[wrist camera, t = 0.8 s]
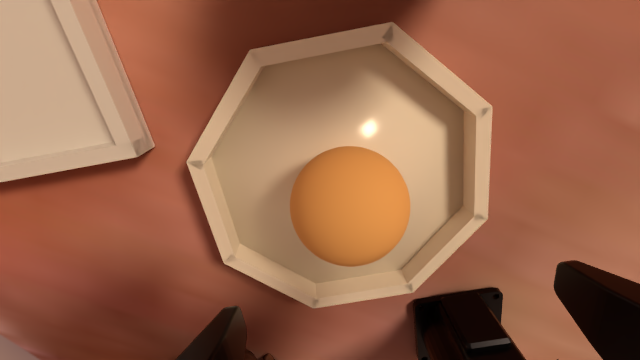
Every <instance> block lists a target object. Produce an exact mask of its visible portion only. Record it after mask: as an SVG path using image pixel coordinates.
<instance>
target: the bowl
mask: <svg viewBox="0 0 640 360" xmlns="http://www.w3.org/2000/svg"><path fill="white" fill-rule="evenodd" d="M491 129H492V106H491V105H490V104H489V103H488V102H487V101H485V100H484V99H483V98H482V97H481V96H480V95H478V94H477V93H476V92H475V91H474V90H472V89H471V88H470V87H469V86H468V85H467V84H465V83H464V82H463V81H462V80H461V79H460V78H458V77H457V76H456V75H455V74H454V73H452V72H451V71H450V70H449V69H448V68H447V67H445V66H444V65H443V64H442V63H441V62H439V61H438V60H437V59H436V58H435V57H434V56H432V55H431V54H430V53H429V52H428V51H426V50H425V49H424V48H423V47H422V46H421V45H419V44H418V43H417V42H416V41H415V40H413V39H412V38H411V37H410V36H409V35H408V34H406V33H405V32H404V31H403V30H402V29H401V28H399V27H398V26H397V25H396V24H395V23H393V22H389V23H384V24H379V25H373V26H368V27H363V28H358V29H353V30H348V31H343V32H338V33H332V34H327V35H322V36H317V37H312V38H307V39H302V40H297V41H291V42H286V43H281V44H276V45H271V46H266V47H261V48H256V49H251V50H249V52H248V54H247V55H246V57H245V59H244V61H243V62H242V64H241V66H240V68H239V70H238V71H237V73H236V75H235V77H234V78H233V80H232V82H231V84H230V86H229V87H228V89H227V91H226V93H225V94H224V96H223V98H222V100H221V102H220V103H219V105H218V107H217V109H216V110H215V112H214V114H213V116H212V117H211V119H210V121H209V123H208V125H207V126H206V128H205V130H204V132H203V133H202V135H201V137H200V139H199V141H198V142H197V144H196V146H195V148H194V149H193V151H192V153H191V155H190V157H189V158H188V160H187V162H186V163H187V165H188V168H189V171H190V173H191V176H192V179H193V181H194V184H195V187H196V190H197V192H198V195H199V198H200V200H201V203H202V206H203V209H204V211H205V214H206V217H207V219H208V222H209V225H210V228H211V230H212V233H213V236H214V238H215V241H216V244H217V246H218V249H219V252H220V255H221V257H222V260H223V263H224V264H226V265H228V266H230V267H232V268H234V269H236V270H238V271H240V272H242V273H244V274H246V275H248V276H250V277H252V278H254V279H256V280H258V281H260V282H262V283H264V284H266V285H268V286H270V287H272V288H274V289H276V290H278V291H280V292H282V293H284V294H286V295H288V296H290V297H292V298H294V299H296V300H298V301H299V302H301V303H303V304H305V305H307V306H309V307H311V308H320V307H326V306H332V305H339V304H345V303H351V302H357V301H364V300H370V299H376V298H382V297H389V296H395V295H401V294H407V293H413V292H414V291H415V290H416V289H417V288H418V287H419V286H420V285H421V284H422V283H423V282H424V281H425V280H426V279H427V278H428V277H429V276H430V275H431V274H432V273H433V272H434V271H435V270H437V269H438V268H439V267H440V266H441V265H442V264H443V263H444V262H445V261H446V260H447V259H448V258H449V257H450V256H451V255H452V254H453V253H454V252H455V251H456V250H457V249H458V248H459V247H460V246H461V245H462V244H463V243H464V242H465V241H466V240H467V239H468V238H469V237H470V236H471V235H472V234H473V233H474V232H475V231H476V230H477V229H478V228H479V227H480V226H481V225H482V224H483V223H484V222H485V221H486V220H487V219H488V200H489V177H490V153H491ZM343 146H357V147H363V148H366V149H370V150H372V151H374V152H377V153H379V154H380V155H382V156H384V157H385V158H386V159H388V160H389V161H390V162H391V163H392V164H393V165H394V166H395V167H396V168H397V169H398V171H399V172H400V174H401V175H402V177H403V179H404V181H405V183H406V185H407V188H408V192H409V197H410V217H409V222H408V225H407V228H406V231H405V233H404V235H403V237H402V238H401V240H400V241H399V243H398V244H397V245H396V246H395V247H394V249H392V250H391V251H390V252H389V253H388V254H387V255H385V256H384V257H382V258H381V259H379V260H377V261H375V262H373V263H370V264H367V265H362V266H355V267H346V266H339V265H335V264H332V263H329V262H326V261H324V260H322V259H320V258H319V257H317V256H316V255H314V254H313V253H312V252H311V251H310V250H308V249H307V248H306V246H305V245H304V244H303V243H302V242H301V240H300V239H299V237H298V235H297V233H296V231H295V229H294V226H293V223H292V220H291V215H290V197H291V192H292V188H293V185H294V183H295V180H296V178H297V176H298V175H299V173H300V172H301V170H302V169H303V168H304V167H305V165H306V164H307V163H308V162H310V161H311V160H312V159H313V158H314V157H316V156H317V155H319V154H321V153H323V152H325V151H327V150H330V149H333V148H337V147H343Z"/></svg>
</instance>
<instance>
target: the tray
mask: <svg viewBox="0 0 640 360" xmlns="http://www.w3.org/2000/svg"><path fill="white" fill-rule="evenodd" d="M154 147H155V145H154V142H153V140H152V137H151V135H150V132H149V130H148V127H147V125H146V122H145V120H144V117H143V115H142V112H141V110H140V107H139V105H138V102H137V100H136V97H135V95H134V92H133V90H132V87H131V85H130V82H129V80H128V77H127V75H126V73H125V70H124V68H123V65H122V63H121V60H120V58H119V55H118V53H117V50H116V48H115V45H114V43H113V40H112V38H111V35H110V33H109V30H108V28H107V25H106V23H105V20H104V18H103V15H102V13H101V10H100V8H99V5H98V3H97V1H96V0H0V182H5V181H10V180H16V179H21V178H26V177H32V176H37V175H43V174H48V173H54V172H59V171H64V170H70V169H75V168H81V167H86V166H92V165H97V164H103V163H108V162H113V161H119V160H124V159H130V158H135V157H138V156H140V155H142V154H143V153H145V152H147V151H148V150H150V149H152V148H154Z"/></svg>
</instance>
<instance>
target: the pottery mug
mask: <svg viewBox="0 0 640 360" xmlns="http://www.w3.org/2000/svg"><path fill="white" fill-rule="evenodd" d="M244 360H257V359H256V357H255V356H254V354H253V353H252V352H250V351H247V350H245V356H244ZM264 360H275V359H274V358H273V357H272V356H271V355H270V354H266V355H265V357H264Z"/></svg>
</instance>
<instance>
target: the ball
mask: <svg viewBox="0 0 640 360" xmlns="http://www.w3.org/2000/svg"><path fill="white" fill-rule="evenodd" d="M290 215H291V220H292V223H293V226H294V229H295V231H296V233H297V235H298V237H299V239H300V240H301V242H302V243H303V244H304V245H305V246H306V248H307V249H308V250H310V251H311V252H312V253H313V254H314V255H316V256H317V257H319V258H320V259H322V260H324V261H326V262H329V263H332V264H335V265H339V266H346V267H355V266H362V265H367V264H370V263H373V262H375V261H377V260H379V259H381V258H382V257H384V256H385V255H387V254H388V253H389V252H390V251H391V250H392V249H394V247H395V246H396V245H397V244H398V243H399V241H400V240H401V238H402V237H403V235H404V233H405V231H406V228H407V225H408V222H409V217H410V197H409V192H408V188H407V185H406V183H405V181H404V179H403V177H402V175H401V174H400V172H399V171H398V169H397V168H396V167H395V166H394V165H393V164H392V163H391V162H390V161H389V160H388V159H386V158H385V157H384V156H382V155H380V154H379V153H377V152H374V151H372V150H370V149H366V148H363V147H357V146H343V147H337V148H333V149H330V150H327V151H325V152H323V153H321V154H319V155H317V156H316V157H314V158H313V159H312V160H311V161H310V162H308V163H307V164H306V165H305V167H304V168H303V169H302V170H301V172H300V173H299V175H298V176H297V178H296V180H295V183H294V185H293V188H292V192H291V197H290Z"/></svg>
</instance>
